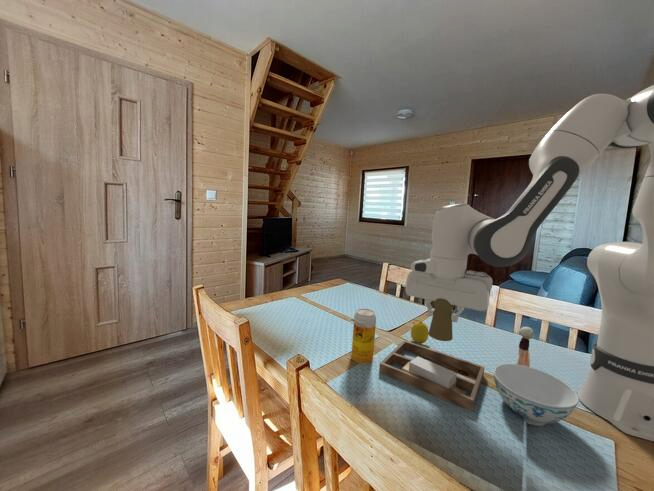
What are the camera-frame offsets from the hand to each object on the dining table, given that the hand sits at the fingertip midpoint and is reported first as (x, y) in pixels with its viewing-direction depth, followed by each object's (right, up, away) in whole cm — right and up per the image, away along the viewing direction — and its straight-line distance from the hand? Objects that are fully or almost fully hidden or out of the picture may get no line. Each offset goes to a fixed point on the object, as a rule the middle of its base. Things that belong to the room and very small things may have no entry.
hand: (442, 318), depth 75 cm
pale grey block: (-5, -15, -4) cm, 16 cm away
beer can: (-21, -14, +6) cm, 26 cm away
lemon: (0, -14, +19) cm, 23 cm away
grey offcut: (-5, -13, -5) cm, 15 cm away
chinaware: (+14, -19, -12) cm, 26 cm away
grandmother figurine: (+26, -17, +7) cm, 31 cm away
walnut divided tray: (-3, -16, 0) cm, 16 cm away
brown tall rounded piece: (0, -5, +1) cm, 5 cm away
